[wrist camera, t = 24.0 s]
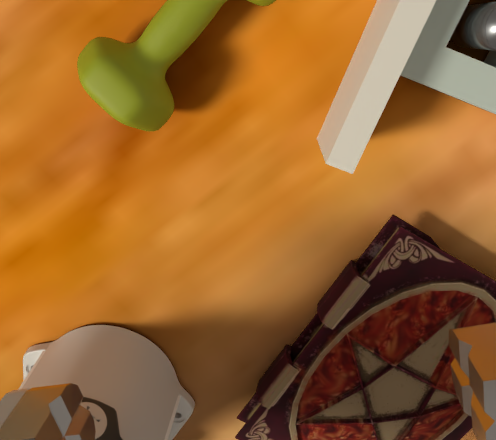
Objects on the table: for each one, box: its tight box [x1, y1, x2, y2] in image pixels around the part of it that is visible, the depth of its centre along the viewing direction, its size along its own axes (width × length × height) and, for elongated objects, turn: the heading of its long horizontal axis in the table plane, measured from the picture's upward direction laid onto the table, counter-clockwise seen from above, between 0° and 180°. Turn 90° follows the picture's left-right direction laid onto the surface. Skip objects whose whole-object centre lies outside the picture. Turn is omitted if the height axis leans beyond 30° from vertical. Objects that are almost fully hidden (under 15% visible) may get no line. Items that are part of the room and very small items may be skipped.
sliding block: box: [400, 0, 496, 114], centre depth 33 cm, size 10×10×4 cm
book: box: [235, 215, 496, 440], centre depth 46 cm, size 28×21×5 cm
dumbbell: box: [77, 0, 276, 131], centre depth 33 cm, size 16×8×7 cm, turn 135°
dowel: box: [450, 2, 496, 51], centre depth 32 cm, size 3×3×7 cm
